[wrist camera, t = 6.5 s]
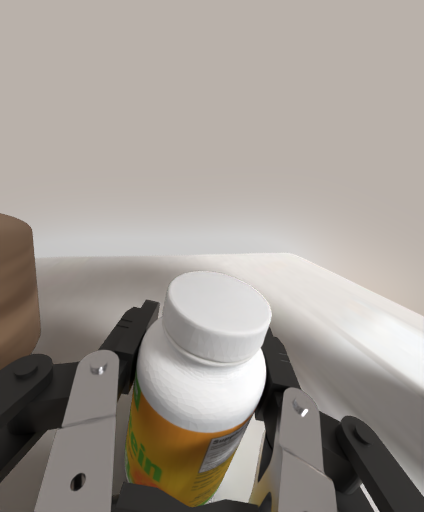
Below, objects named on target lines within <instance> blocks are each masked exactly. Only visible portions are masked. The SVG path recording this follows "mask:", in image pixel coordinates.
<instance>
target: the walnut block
mask: <svg viewBox="0 0 424 512" xmlns="http://www.w3.org/2000/svg"><path fill="white" fill-rule="evenodd" d="M40 332H41V326H40V314H39V303H38V291H37V280H36V268H35V257H34V246H33V235H32V229H31V227H30V226H29V225H28V224H27V223H25V222H24V221H21V220H19V219H17V218H15V217H12V216H8V215H5V214H1V213H0V370H1V369H3V368H4V367H6V366H7V365H8V364H10V363H12V362H13V361H15V360H17V359H19V358H21V357H24V356H27V355H30V354H31V352H32V351H33V349H34V348H35V346H36V344H37V342H38V340H39V337H40Z"/></svg>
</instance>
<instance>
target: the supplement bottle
mask: <svg viewBox="0 0 424 512" xmlns="http://www.w3.org/2000/svg"><path fill="white" fill-rule="evenodd" d="M271 316H272V312H271V308H270V305H269V303H268V302H267V300H266V299H265V298H264V297H263V295H262V294H261V293H260V292H258V291H257V290H256V289H255V288H253V287H252V286H250V285H249V284H247V283H245V282H244V281H242V280H239V279H237V278H234V277H232V276H229V275H226V274H222V273H217V272H210V271H192V272H187V273H184V274H181V275H179V276H177V277H176V278H174V279H173V280H172V282H171V283H170V285H169V287H168V289H167V294H166V299H165V303H164V308H163V316H161V317H160V318H159V319H157V320H156V321H155V322H154V323H153V324H152V325H151V326H150V327H149V329H148V330H147V332H146V333H145V335H144V337H143V339H142V342H141V344H140V348H139V352H138V358H137V364H136V372H135V380H134V387H133V394H132V402H131V409H130V416H129V423H128V430H127V437H126V444H125V472H126V477H127V481H128V483H133V484H139V485H145V486H151V487H157V488H159V489H161V490H162V491H164V492H165V493H167V494H169V495H170V496H172V497H174V498H175V499H177V500H179V501H180V502H182V503H184V504H185V505H187V506H189V507H196V506H200V505H205V504H207V503H208V502H209V501H210V499H211V498H212V497H213V495H214V494H215V492H216V491H217V489H218V487H219V485H220V484H221V482H222V480H223V478H224V475H225V473H226V471H227V469H228V467H229V465H230V463H231V461H232V458H233V456H234V454H235V452H236V450H237V448H238V446H239V444H240V441H241V439H242V437H243V435H244V433H245V431H246V428H247V426H248V424H249V422H250V420H251V418H252V416H253V414H254V412H255V409H256V407H257V405H258V403H259V401H260V398H261V395H262V392H263V389H264V386H265V380H266V365H265V359H264V355H263V352H262V350H261V346H262V344H263V342H264V338H265V335H266V333H267V330H268V327H269V324H270V322H271Z"/></svg>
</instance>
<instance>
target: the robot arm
mask: <svg viewBox="0 0 424 512" xmlns="http://www.w3.org/2000/svg"><path fill="white" fill-rule="evenodd" d="M159 306H160V302H155V301H151V300H146V301H145V302H144V304H143V305H142V307H141V308H137V307H133V308H131V309H130V310H128V311H126V312H125V314H124V315H123V316H122V318H121V320H120V321H119V322H118V323H117V325H116V326H115V328H114V329H113V330H112V332H111V333H110V334H109V336H108V337H107V339H106V340H105V341H104V343H103V344H102V346H101V347H100V348H99V350H98V351H95V352H92V353H90V354H88V355H87V356H85V357H84V358H83V359H82V360H81V361H79V362H74V363H65V364H53V363H52V359H51V358H50V357H49V356H47V355H44V354H32V355H27V356H24V357H21V358H19V359H17V360H15V361H13V362H12V363H10V364H8V365H7V366H6V367H4V368H3V369H1V370H0V483H1V481H2V480H3V479H4V478H5V477H6V476H7V475H8V474H9V472H10V471H11V470H12V469H13V468H14V467H15V466H16V465H17V464H18V462H19V461H20V460H21V459H22V458H23V457H24V456H25V455H26V453H27V452H28V451H29V450H30V449H31V448H32V447H33V446H34V444H35V443H36V442H37V441H38V440H39V439H40V438H41V437H42V436H43V434H44V433H45V432H46V431H47V430H51V429H56V428H58V430H57V432H56V435H55V438H54V441H53V444H52V448H51V452H50V455H49V459H48V462H47V466H46V470H45V473H44V477H43V481H42V484H41V488H40V491H39V495H38V499H37V502H36V506H35V509H34V512H374V510H373V508H372V507H371V505H370V503H369V501H368V500H367V498H366V496H365V494H364V493H363V491H362V489H361V488H360V485H361V484H362V483H363V484H364V486H365V488H366V489H367V491H368V493H369V494H370V496H371V498H372V500H373V501H374V503H375V505H376V506H377V508H378V510H379V511H380V512H424V497H423V496H422V494H421V493H420V492H419V490H418V489H417V488H416V486H415V485H414V484H413V482H412V481H411V480H410V478H409V477H408V476H407V474H406V473H405V472H404V470H403V469H402V468H401V466H400V465H399V464H398V462H397V461H396V460H395V458H394V457H393V456H392V454H391V453H390V452H389V451H388V449H387V448H386V447H385V445H384V444H383V443H382V441H381V440H380V439H379V437H378V436H377V435H376V433H375V432H374V431H373V430H372V429H371V428H370V427H369V426H368V425H367V424H365V423H364V422H363V421H361V420H360V419H358V418H356V417H353V416H345V417H344V418H343V419H342V420H341V422H340V421H338V420H336V419H334V418H332V417H330V416H328V415H326V414H324V413H322V412H320V411H319V410H318V408H317V406H316V404H315V402H314V401H313V400H312V399H311V397H310V396H309V395H307V394H306V393H305V392H303V391H302V390H301V388H300V386H299V383H298V381H297V378H296V375H295V373H294V370H293V368H292V365H291V363H290V360H289V358H288V356H287V353H286V350H285V348H284V345H283V344H282V343H281V342H280V340H279V339H278V338H277V337H273V335H272V332H271V329H270V327H268V330H267V333H266V335H265V338H264V342H263V344H262V346H261V350H262V352H263V355H264V359H265V365H266V380H265V386H264V389H263V392H262V395H261V398H260V401H259V403H258V405H257V407H256V409H255V412H254V413H255V419H256V420H259V421H264V424H265V430H264V432H263V435H262V440H261V446H260V452H259V457H258V463H257V468H256V474H255V480H254V485H253V489H252V493H251V496H250V499H249V502H248V503H244V502H239V501H233V500H227V499H225V500H221V501H217V502H213V503H209V504H205V505H200V506H196V507H189V506H187V505H185V504H184V503H182V502H180V501H179V500H177V499H175V498H174V497H172V496H170V495H169V494H167V493H165V492H164V491H162V490H161V489H159V488H157V487H151V486H145V485H139V484H133V483H128V482H123V485H122V488H121V491H120V494H118V495H114V496H112V480H113V463H114V446H115V429H116V405H117V402H118V400H119V398H120V396H121V394H127V395H128V394H129V392H130V389H131V387H132V385H133V382H134V380H135V372H136V364H137V358H138V352H139V348H140V344H141V342H142V339H143V337H144V335H145V333H146V332H147V330H148V329H149V327H150V326H151V325H152V324H153V323H154V322H155V321H156V320H157V319H158V313H159Z"/></svg>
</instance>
